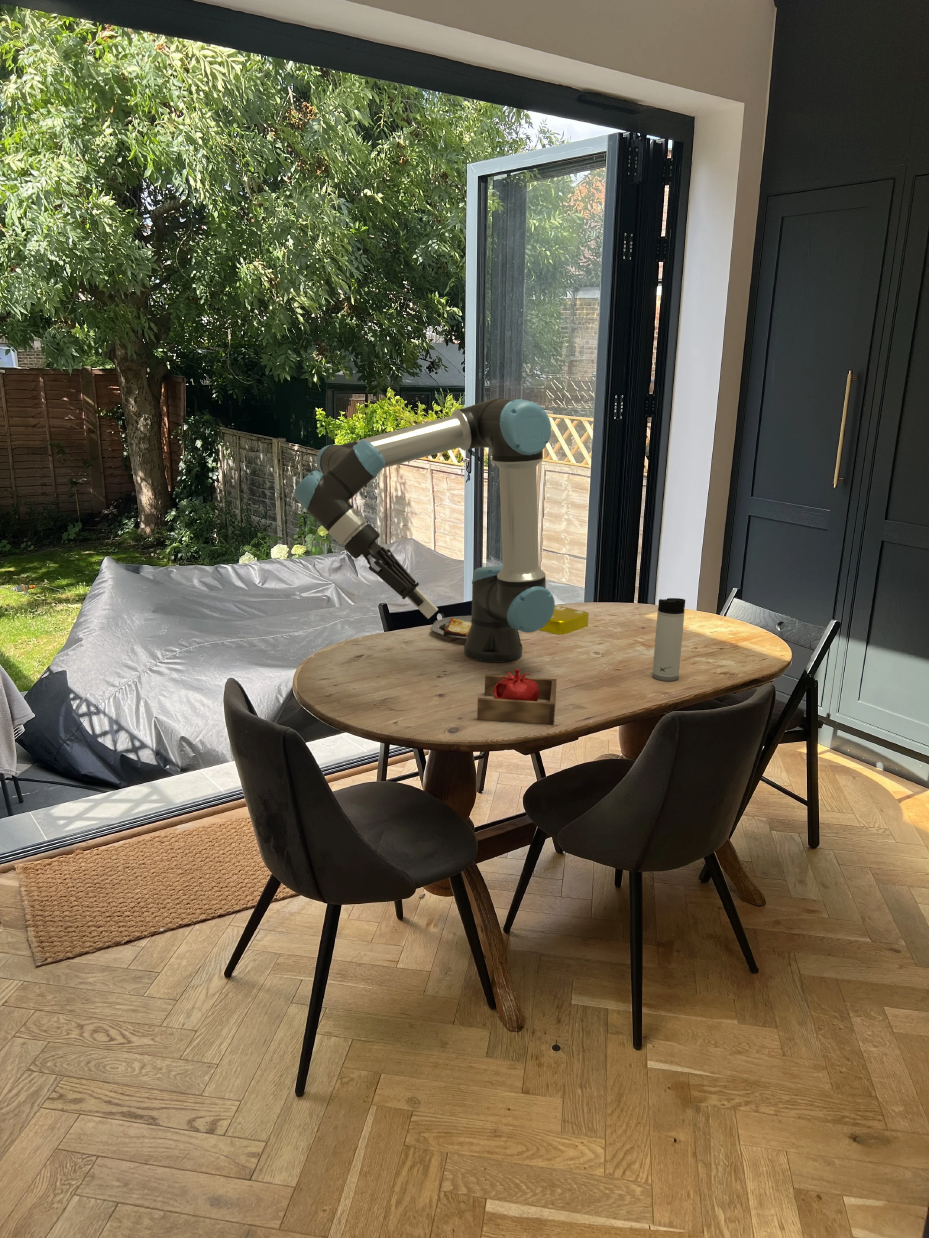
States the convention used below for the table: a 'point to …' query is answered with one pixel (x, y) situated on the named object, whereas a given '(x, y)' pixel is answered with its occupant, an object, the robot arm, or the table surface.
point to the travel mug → (668, 639)
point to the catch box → (518, 704)
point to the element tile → (566, 620)
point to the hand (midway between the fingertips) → (433, 613)
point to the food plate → (453, 626)
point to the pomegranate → (516, 688)
